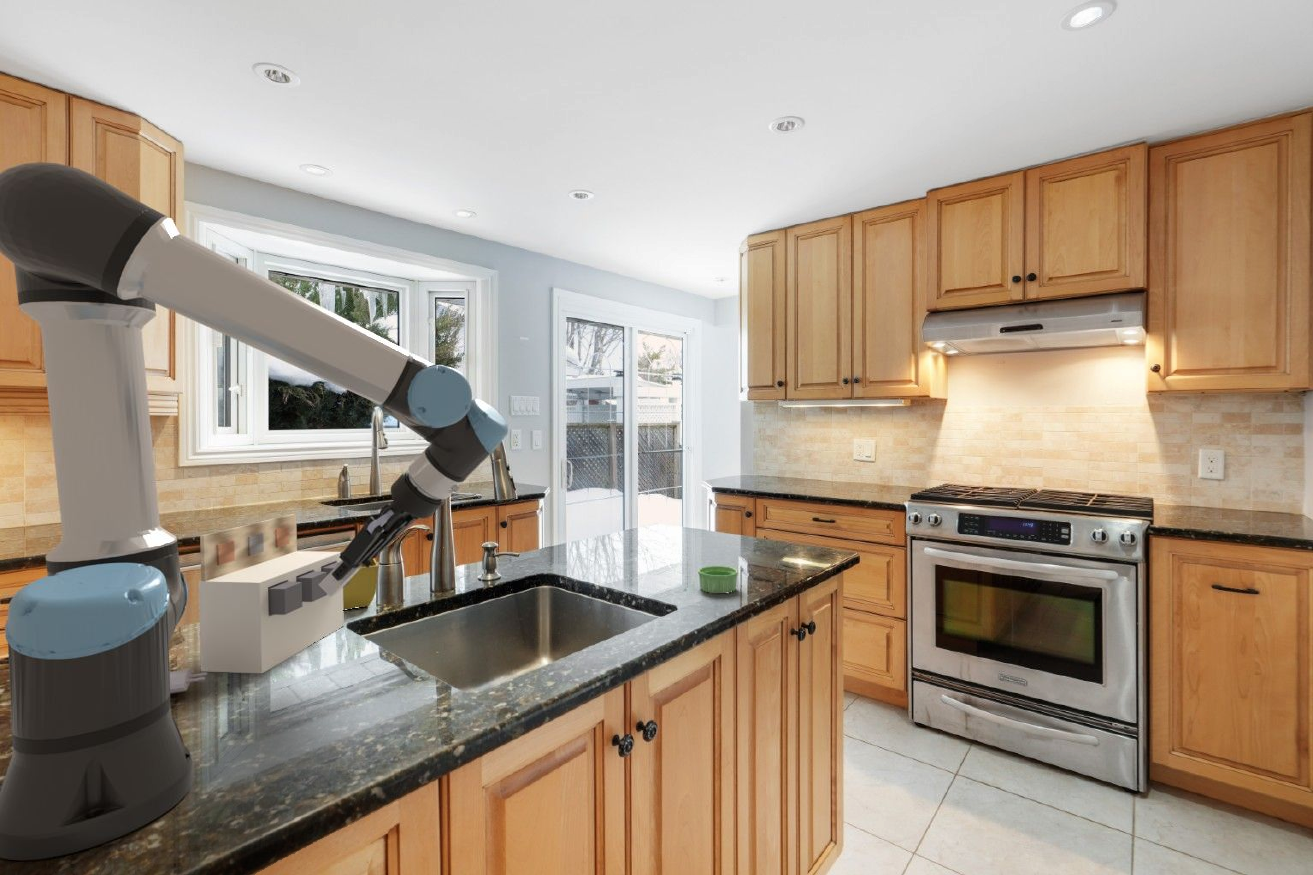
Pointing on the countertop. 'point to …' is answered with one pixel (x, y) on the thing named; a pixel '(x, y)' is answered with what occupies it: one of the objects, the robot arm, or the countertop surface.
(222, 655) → the console
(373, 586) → the flower pot
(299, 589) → the left button
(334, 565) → the right button
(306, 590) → the middle button
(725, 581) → the ramekin
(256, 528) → the pattern sign
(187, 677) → the charger
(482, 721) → the countertop surface
